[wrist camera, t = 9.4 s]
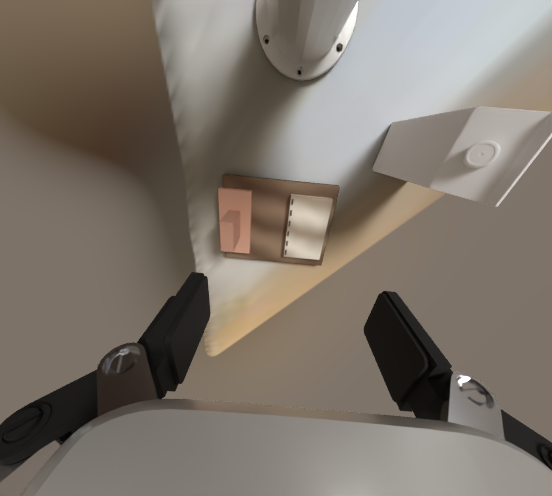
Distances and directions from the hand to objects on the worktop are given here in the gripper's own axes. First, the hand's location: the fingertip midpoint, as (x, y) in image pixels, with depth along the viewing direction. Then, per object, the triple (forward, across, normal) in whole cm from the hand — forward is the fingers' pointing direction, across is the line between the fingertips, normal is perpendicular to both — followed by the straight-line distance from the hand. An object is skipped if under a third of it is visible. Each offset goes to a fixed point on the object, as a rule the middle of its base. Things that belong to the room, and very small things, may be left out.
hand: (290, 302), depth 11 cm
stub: (+27, +8, +6) cm, 29 cm away
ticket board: (+28, +1, +6) cm, 29 cm away
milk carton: (+28, -18, -8) cm, 35 cm away
